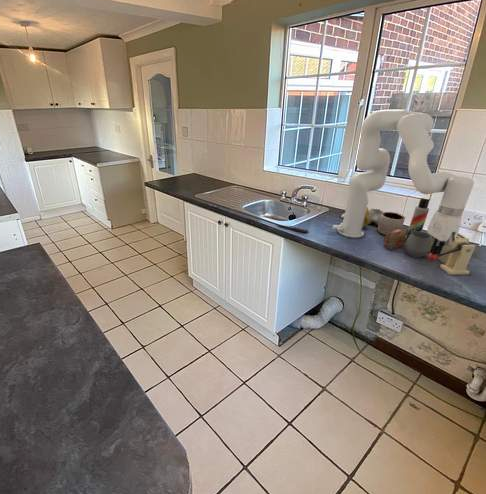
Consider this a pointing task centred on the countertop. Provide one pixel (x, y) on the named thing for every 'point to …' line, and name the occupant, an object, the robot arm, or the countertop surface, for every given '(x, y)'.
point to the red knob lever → (446, 252)
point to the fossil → (375, 216)
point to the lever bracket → (459, 259)
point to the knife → (295, 229)
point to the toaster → (445, 257)
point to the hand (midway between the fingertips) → (434, 253)
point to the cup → (418, 244)
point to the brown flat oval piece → (395, 238)
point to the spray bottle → (419, 216)
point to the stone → (366, 218)
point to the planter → (390, 222)
